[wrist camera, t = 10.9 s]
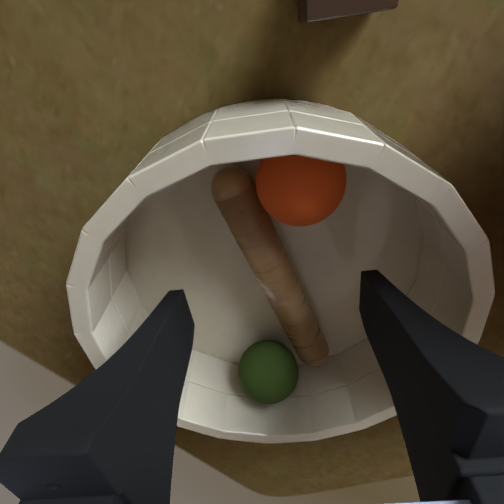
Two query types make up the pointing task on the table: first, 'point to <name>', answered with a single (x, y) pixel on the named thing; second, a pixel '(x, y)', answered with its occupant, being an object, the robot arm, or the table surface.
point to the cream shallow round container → (299, 253)
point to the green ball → (268, 372)
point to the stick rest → (339, 8)
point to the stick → (269, 261)
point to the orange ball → (300, 188)
